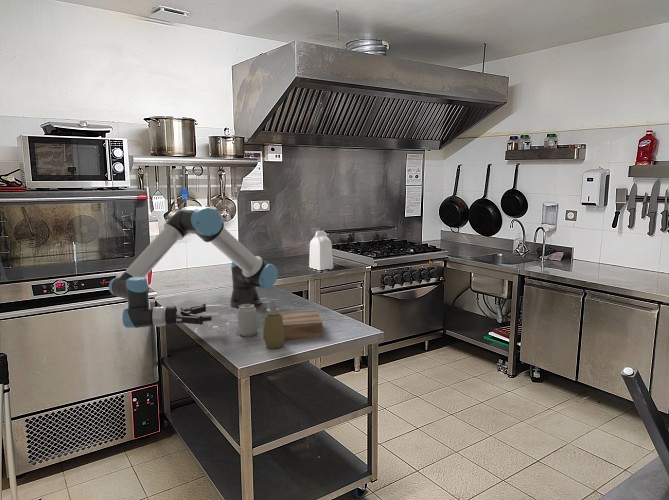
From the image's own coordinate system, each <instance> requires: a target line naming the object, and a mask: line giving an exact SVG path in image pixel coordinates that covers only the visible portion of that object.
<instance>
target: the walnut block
mask: <svg viewBox="0 0 669 500" xmlns="http://www.w3.org/2000/svg"><path fill="white" fill-rule="evenodd" d="M279 314H281V315H282V320H283V327H284V334H285V338H284V341H288V340H297V339H298V340H299V339H310V338H311V339H312V338H323V336H324V335H323V321H322V319H321V317H320V315H319V313H318V311H317V310H316V309H308V310H297V311H295V310H294V311H293V310H292V311H279Z"/></svg>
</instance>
